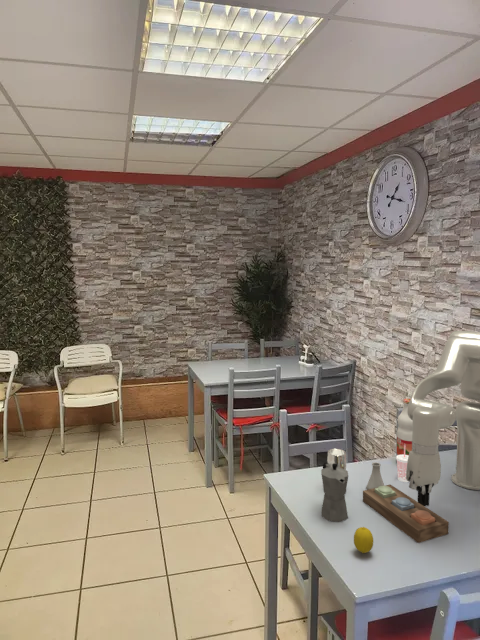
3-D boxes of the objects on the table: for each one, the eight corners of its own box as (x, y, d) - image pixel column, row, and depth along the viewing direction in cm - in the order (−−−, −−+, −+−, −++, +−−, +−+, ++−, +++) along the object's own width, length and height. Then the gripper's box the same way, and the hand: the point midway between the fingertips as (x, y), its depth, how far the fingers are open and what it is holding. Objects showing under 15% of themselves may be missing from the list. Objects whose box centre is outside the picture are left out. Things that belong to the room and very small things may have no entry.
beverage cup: (413, 478, 179) (414, 444, 178) (410, 484, 174) (411, 449, 173) (397, 474, 183) (398, 441, 181) (393, 480, 177) (394, 446, 176)
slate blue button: (403, 504, 155) (403, 495, 155) (414, 511, 150) (414, 502, 150) (391, 507, 153) (391, 498, 153) (402, 514, 149) (402, 505, 148)
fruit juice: (424, 468, 188) (426, 402, 185) (403, 470, 186) (405, 403, 183) (412, 459, 197) (414, 396, 194) (392, 461, 195) (393, 397, 192)
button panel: (389, 494, 167) (390, 484, 166) (448, 534, 142) (448, 521, 141) (362, 501, 162) (362, 490, 162) (418, 543, 137) (418, 530, 137)
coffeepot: (356, 523, 148) (357, 470, 146) (329, 527, 146) (329, 474, 144) (336, 500, 163) (336, 452, 161) (311, 503, 161) (311, 455, 159)
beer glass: (325, 493, 169) (325, 454, 167) (329, 484, 175) (329, 447, 173) (344, 496, 166) (344, 457, 164) (347, 487, 172) (347, 449, 171)
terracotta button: (423, 517, 147) (423, 508, 146) (435, 525, 142) (435, 516, 142) (410, 521, 145) (411, 511, 144) (422, 529, 140) (422, 519, 140)
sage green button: (385, 492, 163) (386, 484, 163) (395, 499, 159) (395, 490, 158) (374, 495, 161) (374, 487, 161) (383, 501, 157) (383, 493, 156)
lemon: (351, 548, 136) (351, 522, 135) (369, 546, 136) (369, 521, 135) (357, 559, 130) (357, 533, 129) (376, 558, 131) (376, 532, 130)
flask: (386, 494, 167) (387, 468, 166) (366, 493, 168) (366, 467, 167) (384, 485, 174) (385, 460, 173) (365, 484, 175) (365, 459, 174)
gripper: (434, 439, 147) (432, 493, 149) (397, 447, 141) (395, 503, 143) (453, 448, 140) (450, 504, 142) (414, 456, 134) (413, 514, 136)
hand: (423, 503), depth 143 cm, fingers closed
